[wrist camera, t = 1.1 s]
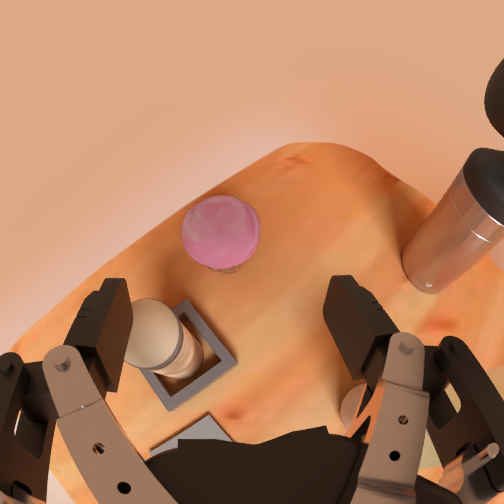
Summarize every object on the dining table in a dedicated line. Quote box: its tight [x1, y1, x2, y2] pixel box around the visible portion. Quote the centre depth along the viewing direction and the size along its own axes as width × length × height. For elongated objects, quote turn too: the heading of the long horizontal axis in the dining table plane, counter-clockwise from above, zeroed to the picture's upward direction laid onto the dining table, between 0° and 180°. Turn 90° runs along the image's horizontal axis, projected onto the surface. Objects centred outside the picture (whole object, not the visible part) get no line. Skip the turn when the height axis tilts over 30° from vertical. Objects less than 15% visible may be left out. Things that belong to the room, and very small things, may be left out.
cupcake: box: [181, 195, 260, 273], centre depth 32 cm, size 9×9×10 cm
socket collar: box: [140, 299, 238, 411], centre depth 30 cm, size 10×10×2 cm
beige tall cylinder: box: [124, 299, 204, 379], centre depth 25 cm, size 6×6×12 cm
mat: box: [149, 414, 233, 456], centre depth 24 cm, size 9×9×1 cm
